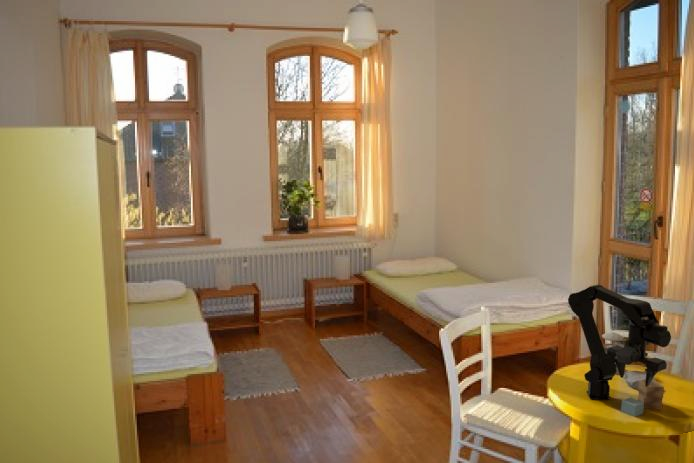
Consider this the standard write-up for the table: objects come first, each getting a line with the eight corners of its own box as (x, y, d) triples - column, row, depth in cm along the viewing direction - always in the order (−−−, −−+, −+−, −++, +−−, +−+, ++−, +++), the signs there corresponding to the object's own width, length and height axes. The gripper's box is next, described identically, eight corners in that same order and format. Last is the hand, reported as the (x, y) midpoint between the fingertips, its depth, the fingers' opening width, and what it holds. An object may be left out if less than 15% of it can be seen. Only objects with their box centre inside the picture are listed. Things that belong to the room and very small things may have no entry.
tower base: (643, 408, 218) (644, 397, 218) (637, 401, 224) (638, 390, 224) (661, 409, 218) (662, 398, 217) (655, 402, 224) (656, 391, 223)
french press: (617, 364, 259) (621, 306, 255) (630, 375, 247) (634, 314, 243) (593, 364, 259) (597, 306, 255) (605, 375, 247) (609, 314, 243)
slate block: (621, 411, 216) (621, 400, 215) (629, 408, 219) (630, 397, 218) (634, 417, 212) (635, 406, 211) (643, 413, 214) (643, 402, 214)
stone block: (632, 394, 234) (659, 389, 233) (630, 382, 233) (657, 377, 233) (619, 383, 246) (645, 378, 245) (617, 371, 245) (643, 366, 245)
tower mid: (646, 398, 217) (646, 387, 217) (637, 391, 223) (638, 380, 223) (663, 398, 217) (664, 387, 217) (654, 390, 223) (655, 380, 223)
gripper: (598, 335, 214) (595, 378, 217) (649, 351, 199) (646, 397, 201) (617, 329, 220) (614, 371, 223) (669, 344, 205) (665, 389, 207)
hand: (634, 381), depth 214 cm, fingers open, 9 cm apart
